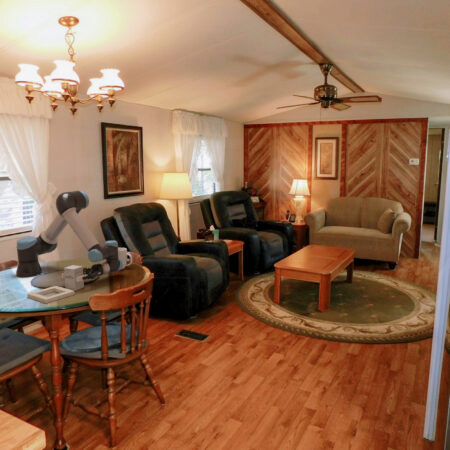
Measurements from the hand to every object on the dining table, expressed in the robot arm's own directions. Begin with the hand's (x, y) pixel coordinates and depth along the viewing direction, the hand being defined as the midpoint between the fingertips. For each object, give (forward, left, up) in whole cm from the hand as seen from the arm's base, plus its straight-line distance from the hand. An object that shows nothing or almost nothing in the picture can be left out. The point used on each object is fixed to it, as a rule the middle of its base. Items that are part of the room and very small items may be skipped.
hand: (69, 277), depth 236 cm
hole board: (+1, -12, -7) cm, 14 cm away
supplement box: (0, +3, -7) cm, 8 cm away
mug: (-11, +47, -7) cm, 49 cm away
